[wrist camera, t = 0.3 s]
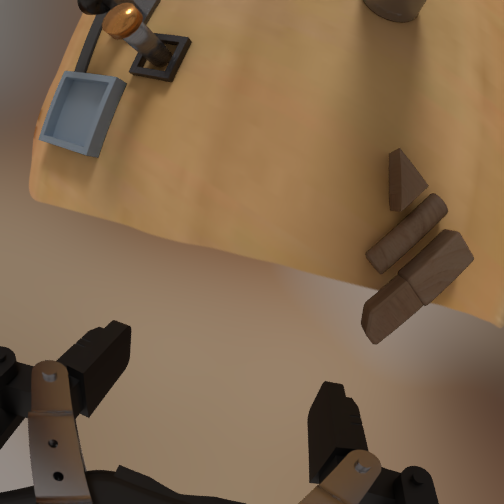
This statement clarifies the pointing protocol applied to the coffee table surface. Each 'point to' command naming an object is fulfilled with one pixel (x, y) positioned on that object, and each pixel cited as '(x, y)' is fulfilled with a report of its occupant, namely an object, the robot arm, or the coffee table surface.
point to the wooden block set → (422, 265)
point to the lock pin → (136, 33)
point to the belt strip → (90, 43)
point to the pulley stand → (94, 3)
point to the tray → (82, 111)
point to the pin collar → (173, 65)
